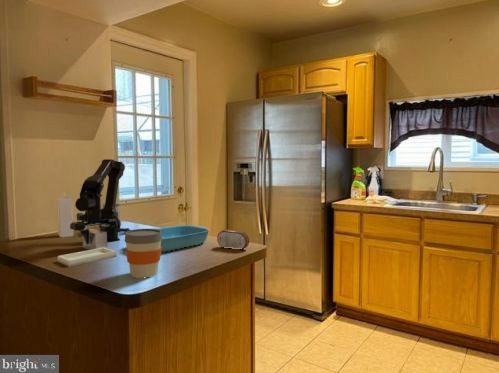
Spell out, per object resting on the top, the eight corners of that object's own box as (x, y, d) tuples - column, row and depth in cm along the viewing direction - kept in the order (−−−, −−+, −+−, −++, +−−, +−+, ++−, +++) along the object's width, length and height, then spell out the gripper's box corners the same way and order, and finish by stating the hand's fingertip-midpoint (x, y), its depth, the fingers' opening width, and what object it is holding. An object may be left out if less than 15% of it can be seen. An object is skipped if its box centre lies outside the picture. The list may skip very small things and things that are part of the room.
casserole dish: (188, 236, 196) (187, 222, 196) (218, 243, 181) (218, 228, 181) (123, 248, 169) (122, 233, 168) (152, 258, 154) (151, 241, 153)
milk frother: (105, 229, 209) (104, 203, 208) (134, 229, 211) (134, 203, 209) (97, 235, 195) (97, 206, 194) (129, 235, 197) (128, 206, 195)
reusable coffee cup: (138, 267, 140) (138, 227, 139) (169, 270, 137) (168, 229, 135) (117, 278, 128) (116, 234, 127) (150, 281, 125) (149, 237, 123)
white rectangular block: (93, 245, 173) (93, 228, 173) (107, 250, 166) (106, 232, 165) (82, 247, 170) (82, 230, 169) (96, 252, 162) (95, 233, 161)
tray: (104, 252, 161) (103, 247, 161) (116, 256, 155) (116, 251, 155) (57, 261, 147) (57, 256, 147) (69, 266, 141) (69, 260, 140)
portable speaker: (249, 250, 168) (249, 231, 167) (246, 251, 165) (246, 232, 164) (219, 246, 174) (219, 228, 173) (216, 247, 171) (216, 229, 170)
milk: (60, 237, 189) (58, 193, 187) (58, 235, 194) (56, 192, 192) (73, 236, 193) (72, 192, 191) (71, 233, 198) (69, 191, 196)
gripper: (104, 204, 178) (105, 236, 180) (63, 208, 164) (65, 243, 166) (116, 206, 171) (117, 240, 173) (75, 210, 157) (76, 248, 158)
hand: (94, 243), depth 167 cm, fingers open, 6 cm apart
